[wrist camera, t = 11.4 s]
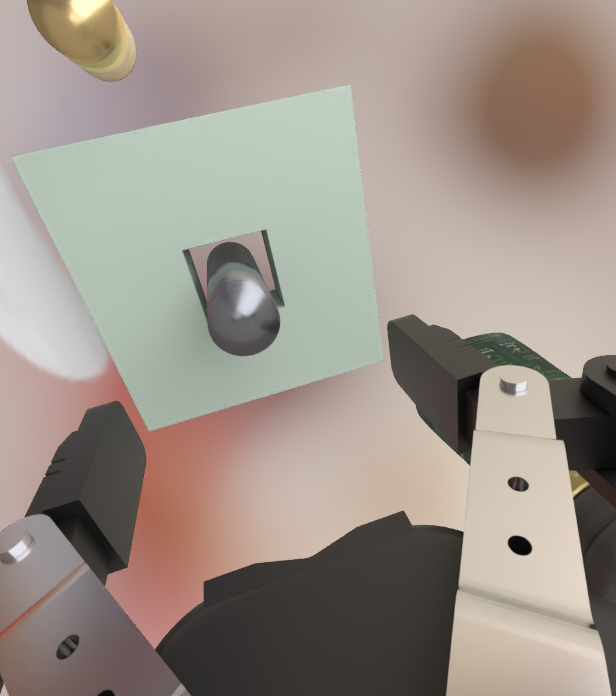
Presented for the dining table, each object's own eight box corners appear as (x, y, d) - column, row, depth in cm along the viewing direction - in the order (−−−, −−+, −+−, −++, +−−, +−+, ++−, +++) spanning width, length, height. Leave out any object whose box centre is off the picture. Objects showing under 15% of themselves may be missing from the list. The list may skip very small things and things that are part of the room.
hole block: (39, 156, 20) (9, 156, 17) (330, 94, 22) (350, 84, 19) (155, 401, 28) (149, 431, 25) (365, 339, 30) (384, 360, 27)
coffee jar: (412, 427, 35) (593, 663, 18) (406, 350, 31) (626, 562, 15) (509, 396, 36) (760, 594, 20) (515, 318, 32) (830, 483, 16)
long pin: (200, 248, 24) (197, 300, 15) (247, 236, 25) (271, 280, 16) (215, 293, 26) (220, 364, 17) (259, 282, 26) (287, 345, 17)
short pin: (56, 11, 18) (9, -36, 14) (121, 0, 19) (95, -49, 14) (86, 86, 20) (51, 66, 15) (145, 75, 20) (129, 51, 16)
